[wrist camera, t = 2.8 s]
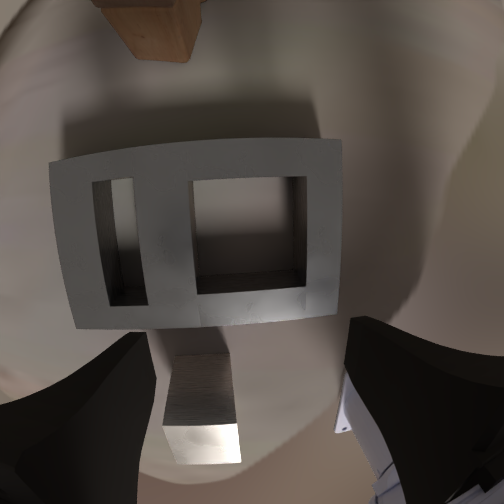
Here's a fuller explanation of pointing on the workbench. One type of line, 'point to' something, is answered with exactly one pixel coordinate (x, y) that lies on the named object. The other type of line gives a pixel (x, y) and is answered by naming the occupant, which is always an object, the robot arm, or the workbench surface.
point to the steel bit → (202, 410)
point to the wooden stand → (155, 26)
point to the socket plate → (194, 234)
